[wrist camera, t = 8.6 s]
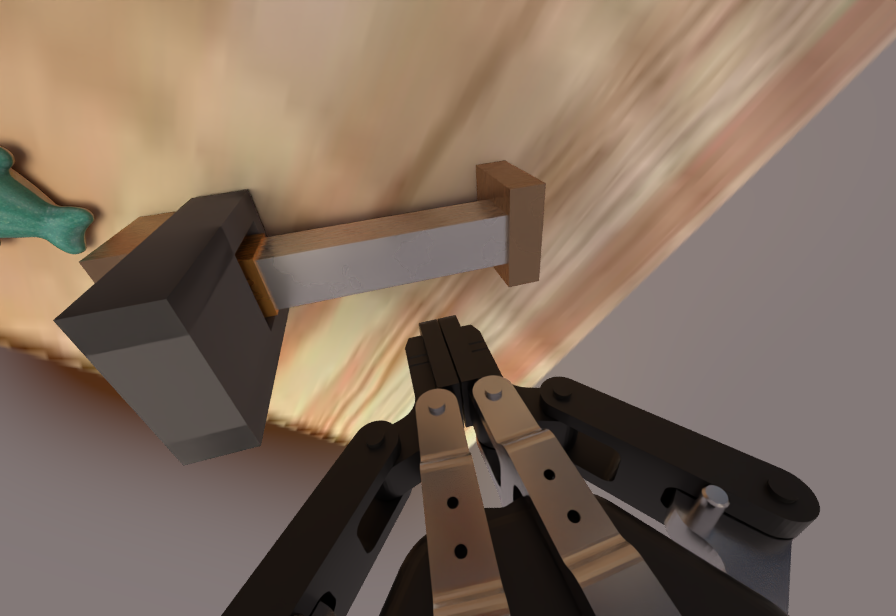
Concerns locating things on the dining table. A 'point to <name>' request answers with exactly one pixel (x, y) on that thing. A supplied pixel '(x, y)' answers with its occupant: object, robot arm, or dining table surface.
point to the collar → (186, 331)
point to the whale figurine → (38, 212)
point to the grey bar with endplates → (381, 246)
